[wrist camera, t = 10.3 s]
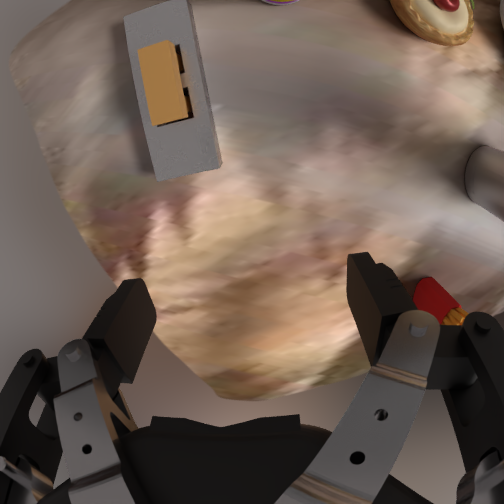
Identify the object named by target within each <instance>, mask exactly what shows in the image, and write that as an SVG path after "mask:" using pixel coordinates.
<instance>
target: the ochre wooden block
mask: <svg viewBox="0 0 504 504" xmlns="http://www.w3.org/2000/svg"><path fill="white" fill-rule="evenodd" d="M138 56H139V62H140V68H141V73H142V79H143V84H144V89H145V94H146V99H147V104H148V109H149V113H150V118H151V123H152V126H156V125H160V124H163V123H167V122H171V121H175V120H179V119H183V118H187V117H188V112H192V108H191V103H190V98H189V96H184V93H183V88H182V83H181V78H180V72H181V71H184V67H183V62H182V57H181V56H180V55H178V54H177V53H176V51H175V45H174V44H173V43H172V42H170V41H169V40H165V41H162V42H159V43H156V44H153V45H150V46H147V47H144V48H141V49H138Z"/></svg>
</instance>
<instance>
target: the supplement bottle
mask: <svg viewBox="0 0 504 504" xmlns="http://www.w3.org/2000/svg"><path fill="white" fill-rule="evenodd" d="M262 1H264V2H266V3H269V4H274V5H288V4H292V3H295V2H297V1H299V0H262Z"/></svg>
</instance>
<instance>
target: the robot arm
mask: <svg viewBox="0 0 504 504" xmlns="http://www.w3.org/2000/svg"><path fill="white" fill-rule="evenodd" d="M465 186H466V191H467V194H468V195H469V197H470V199H471V200H472V201H473V202H475V203H476V204H478V205H480V206H481V207H483V208H484V209H486V210H487V211H489V212H490V213H492V214H493V215H495V216H496V217H498V218H499V219H501V220H502V221H503V222H504V152H503V151H501V150H498V149H495V148H492V147H489V146H482V147H479V148H478V149H476V150H475V151H474V152H473V153H472V155H471V157H470V158H469V161H468V163H467V167H466V171H465ZM347 299H348V304H349V307H350V309H351V312H352V314H353V317H354V320H355V322H356V325H357V328H358V331H359V333H360V336H361V339H362V342H363V345H364V348H365V350H366V353H367V356H368V359H369V362H370V365H371V369H370V370H369V372H368V374H367V376H366V378H365V379H364V381H363V383H362V385H361V387H360V389H359V390H358V392H357V394H356V395H355V397H354V399H353V401H352V402H351V404H350V406H349V407H348V409H347V411H346V412H345V414H344V416H343V417H342V419H341V420H340V422H339V424H338V425H337V426H336V428H335V430H334V431H333V432H330V431H328V430H326V429H323V428H320V427H316V426H311V425H305V424H300V415H299V414H298V415H287V416H277V417H263V418H257V419H254V420H250V421H246V422H243V423H238V424H234V425H230V426H225V427H216V426H212V425H208V424H204V423H200V422H197V421H193V420H189V419H186V418H171V417H157V416H153V417H152V420H151V424H150V426H147V427H143V428H139V429H138V427H137V425H136V424H135V421H134V419H133V417H132V414H131V412H130V410H129V408H128V405H127V403H126V401H125V398H124V396H123V393H122V391H121V390H120V389H119V386H120V383H130V384H132V383H133V381H134V378H135V375H136V372H137V370H138V367H139V364H140V362H141V359H142V357H143V354H144V351H145V349H146V346H147V344H148V341H149V339H150V336H151V334H152V331H153V329H154V326H155V324H156V310H155V307H154V304H153V302H152V300H151V297H150V295H149V292H148V290H147V287H146V285H145V282H144V281H143V279H141V278H137V279H128V280H124V281H123V282H122V283H121V285H120V286H119V288H118V289H117V291H116V292H115V293H114V294H113V295H111V296H110V297H109V298H108V299H107V300H106V301H105V303H104V304H103V306H102V307H101V310H99V312H98V314H97V317H95V318H94V320H93V322H92V323H91V325H90V326H89V328H88V330H87V331H86V333H85V335H84V336H83V338H82V339H75V340H72V341H71V342H68V343H67V344H65V345H64V346H63V347H62V349H61V350H60V351H59V353H58V356H56V357H51V358H47V359H46V357H45V356H44V354H43V353H42V352H41V350H39V349H32V350H29V351H27V352H26V353H25V354H24V355H22V357H21V358H20V359H19V361H18V362H17V365H16V366H15V367H14V370H13V371H12V373H11V374H10V376H9V378H8V380H7V382H6V384H5V385H4V387H3V389H2V391H1V393H0V504H433V503H432V502H430V501H429V500H427V499H425V498H424V497H422V496H421V495H419V494H418V493H416V492H415V491H413V490H412V489H410V488H409V487H407V486H406V485H404V484H403V483H401V482H400V481H399V480H397V479H396V478H394V477H393V476H392V475H390V474H389V473H390V471H391V469H392V467H393V465H394V463H395V461H396V459H397V457H398V455H399V453H400V451H401V449H402V447H403V444H404V442H405V440H406V438H407V435H408V433H409V431H410V428H411V426H412V424H413V421H414V419H415V416H416V414H417V411H418V408H419V405H420V403H421V400H422V397H423V395H424V391H425V389H440V390H441V392H442V395H443V398H444V401H445V403H446V406H447V409H448V412H449V415H450V418H451V421H452V424H453V427H454V431H455V434H456V437H457V441H458V444H459V448H460V451H461V455H462V459H463V463H464V467H465V470H466V473H465V474H464V476H463V477H462V478H461V480H460V482H459V484H458V487H457V500H456V504H504V330H503V329H502V327H501V326H500V324H499V323H498V322H497V320H496V319H495V318H494V317H492V316H491V315H489V314H487V313H484V312H472V313H470V314H468V315H467V316H466V317H465V319H464V322H463V324H462V325H441V324H439V322H438V320H437V319H436V318H435V317H434V316H433V315H432V314H430V313H428V312H425V311H422V310H418V308H417V307H416V305H415V303H414V302H413V300H412V299H411V297H410V296H409V294H408V292H407V291H406V289H405V288H404V287H403V286H402V283H401V282H400V280H398V277H397V276H396V274H395V273H394V271H393V270H392V269H391V268H389V267H388V266H386V265H385V264H383V263H378V264H376V263H375V262H374V260H373V259H372V257H371V256H370V254H369V253H368V252H362V253H354V254H349V255H348V258H347ZM37 394H38V396H39V397H40V398H41V399H42V400H43V401H44V402H45V403H46V405H45V407H44V409H43V412H42V414H41V417H40V419H39V422H38V424H37V427H35V426H34V425H33V424H32V423H31V421H30V419H29V410H30V407H31V405H32V403H33V401H34V399H35V396H36V395H37ZM62 453H64V457H65V461H66V465H67V469H68V472H69V476H70V478H69V479H67V480H66V481H65V482H63V483H62V484H61V485H59V486H58V487H57V488H56V489H54V490H53V484H54V481H55V477H56V473H57V470H58V466H59V463H60V459H61V456H62Z"/></svg>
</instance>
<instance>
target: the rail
mask: <svg viewBox="0 0 504 504" xmlns="http://www.w3.org/2000/svg"><path fill="white" fill-rule="evenodd" d="M123 18H124V26H125V33H126V39H127V46H128V52H129V58H130V63H131V69H132V74H133V80H134V85H135V90H136V95H137V100H138V104H139V109H140V114H141V118H142V122H143V127H144V131H145V135H146V140H147V144H148V148H149V152H150V156H151V160H152V164H153V168H154V171H155V175H156V179H157V182H159V181H163V180H167V179H171V178H176V177H180V176H185V175H189V174H194V173H199V172H203V171H208V170H213V169H218V168H220V167H221V165H222V158H221V153H220V148H219V143H218V139H217V134H216V129H215V124H214V119H213V114H212V109H211V104H210V99H209V94H208V89H207V84H206V79H205V74H204V69H203V64H202V59H201V54H200V49H199V43H198V38H197V33H196V28H195V23H194V17H193V12H192V7H191V4H190V2H189V0H170V1H167V2H163V3H160V4H157V5H154V6H151V7H148V8H145V9H143V10H140V11H137V12H134V13H132V14H129V15H127V16H124V17H123ZM165 40H169V41H170V42H172V43H173V44H174V45H175V51H176V52H177V51H181V55H182V60H183V65H184V70H185V73H182V74H180V78H181V83H182V88H183V91H186V90H189V95H190V100H191V105H192V110H193V115H194V118H191V119H187V120H183V121H179V122H175V123H172V124H168V125H165V123H163V124H160V125H156V126H152V123H151V118H150V113H149V109H148V104H147V99H146V94H145V89H144V84H143V79H142V73H141V68H140V62H139V56H138V49H141V48H144V47H147V46H150V45H153V44H156V43H159V42H162V41H165Z"/></svg>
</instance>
